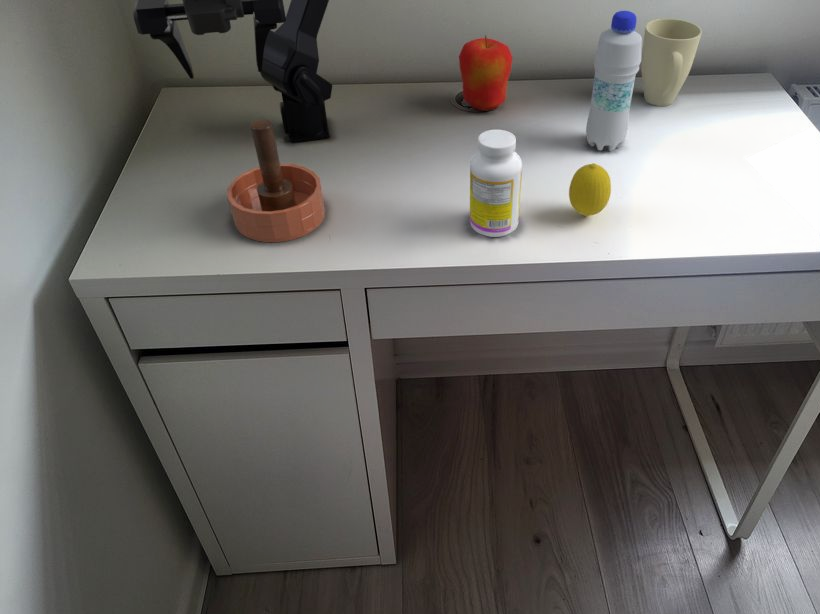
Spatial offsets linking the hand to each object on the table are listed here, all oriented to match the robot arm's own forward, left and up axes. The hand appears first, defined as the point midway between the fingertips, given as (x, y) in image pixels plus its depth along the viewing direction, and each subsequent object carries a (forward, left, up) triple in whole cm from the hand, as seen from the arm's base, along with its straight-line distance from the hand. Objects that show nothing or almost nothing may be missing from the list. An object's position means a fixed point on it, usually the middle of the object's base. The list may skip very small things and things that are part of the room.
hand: (226, 74), depth 99 cm
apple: (-40, -8, -13) cm, 43 cm away
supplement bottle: (-32, +26, -13) cm, 43 cm away
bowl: (-4, +17, -13) cm, 22 cm away
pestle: (-4, +17, -12) cm, 21 cm away
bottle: (-55, +9, -13) cm, 57 cm away
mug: (-70, -2, -13) cm, 71 cm away
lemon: (-45, +27, -13) cm, 54 cm away
